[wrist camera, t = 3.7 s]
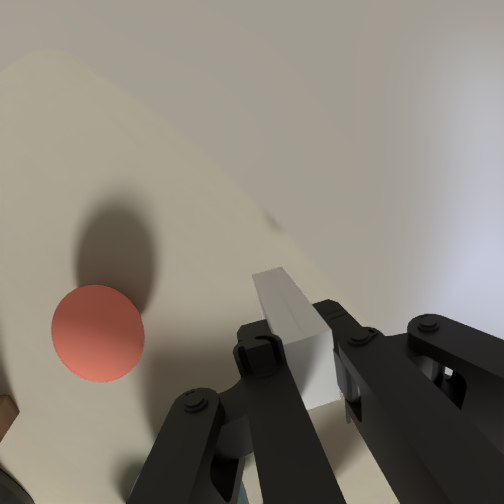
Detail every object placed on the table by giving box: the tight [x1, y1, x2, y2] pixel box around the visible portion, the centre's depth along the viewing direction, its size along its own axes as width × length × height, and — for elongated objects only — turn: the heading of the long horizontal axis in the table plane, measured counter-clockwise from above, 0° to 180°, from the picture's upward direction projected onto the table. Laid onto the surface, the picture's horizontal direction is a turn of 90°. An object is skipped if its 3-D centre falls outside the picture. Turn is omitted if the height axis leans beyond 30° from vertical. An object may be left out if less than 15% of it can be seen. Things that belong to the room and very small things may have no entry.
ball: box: [51, 285, 144, 382], centre depth 15 cm, size 6×6×6 cm
